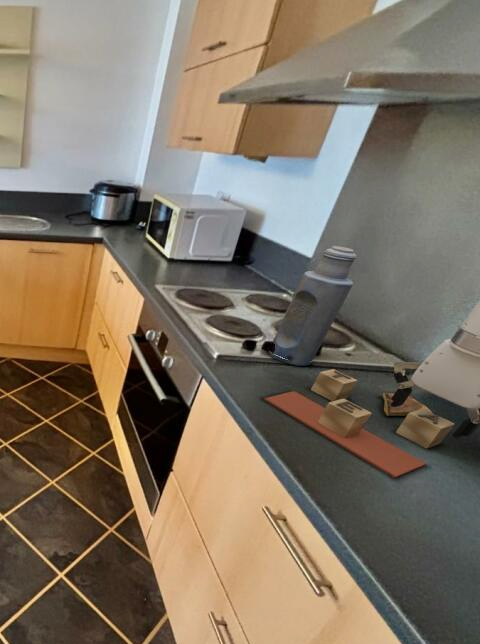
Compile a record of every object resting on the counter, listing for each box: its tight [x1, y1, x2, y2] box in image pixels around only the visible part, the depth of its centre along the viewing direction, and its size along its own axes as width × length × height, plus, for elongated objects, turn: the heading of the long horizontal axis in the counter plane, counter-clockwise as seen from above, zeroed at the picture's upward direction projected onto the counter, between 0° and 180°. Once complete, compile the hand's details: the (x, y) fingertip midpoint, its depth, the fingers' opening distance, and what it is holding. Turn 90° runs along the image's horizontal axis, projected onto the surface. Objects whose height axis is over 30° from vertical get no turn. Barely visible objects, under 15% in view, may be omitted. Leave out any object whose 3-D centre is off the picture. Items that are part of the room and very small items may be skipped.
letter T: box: [310, 368, 358, 402], centre depth 95 cm, size 5×5×5 cm
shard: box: [382, 392, 433, 417], centre depth 92 cm, size 11×8×2 cm
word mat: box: [263, 390, 427, 479], centre depth 84 cm, size 24×10×1 cm, turn 22°
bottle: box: [268, 245, 358, 367], centre depth 104 cm, size 10×10×30 cm
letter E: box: [318, 399, 373, 438], centre depth 82 cm, size 5×5×5 cm
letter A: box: [395, 409, 455, 450], centre depth 82 cm, size 5×5×5 cm
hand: (425, 420), depth 81 cm, fingers open, 9 cm apart
